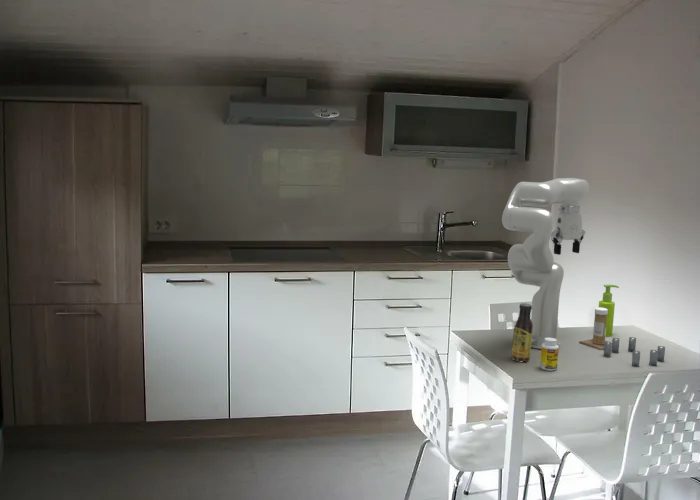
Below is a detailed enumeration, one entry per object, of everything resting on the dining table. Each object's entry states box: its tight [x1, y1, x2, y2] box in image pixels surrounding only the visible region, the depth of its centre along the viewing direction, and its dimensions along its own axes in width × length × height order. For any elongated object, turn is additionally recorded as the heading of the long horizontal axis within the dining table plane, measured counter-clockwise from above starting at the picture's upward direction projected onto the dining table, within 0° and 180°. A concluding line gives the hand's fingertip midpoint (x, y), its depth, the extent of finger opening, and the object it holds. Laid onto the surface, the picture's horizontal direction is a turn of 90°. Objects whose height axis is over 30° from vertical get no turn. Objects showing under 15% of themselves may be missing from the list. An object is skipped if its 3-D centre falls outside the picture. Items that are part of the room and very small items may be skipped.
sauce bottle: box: [511, 302, 533, 362], centre depth 241 cm, size 7×6×20 cm
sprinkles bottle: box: [592, 306, 608, 345], centre depth 262 cm, size 5×5×14 cm
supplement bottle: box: [539, 338, 560, 372], centre depth 233 cm, size 6×6×10 cm
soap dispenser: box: [598, 284, 620, 337], centre depth 276 cm, size 6×7×20 cm
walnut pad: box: [579, 338, 612, 351], centre depth 263 cm, size 10×10×1 cm
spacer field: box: [603, 336, 666, 368], centre depth 247 cm, size 15×18×5 cm
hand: (566, 253), depth 274 cm, fingers open, 9 cm apart
